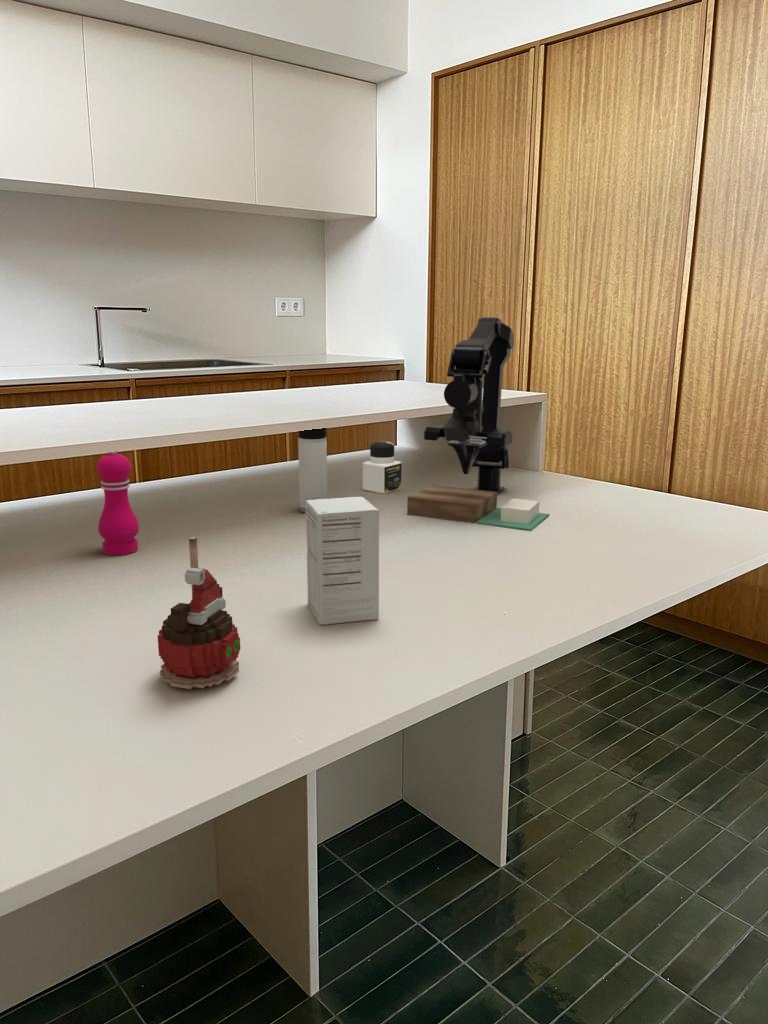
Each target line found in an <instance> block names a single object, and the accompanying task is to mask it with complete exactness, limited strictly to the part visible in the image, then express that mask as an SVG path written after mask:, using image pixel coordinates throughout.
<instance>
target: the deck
mask: <svg viewBox="0 0 768 1024" xmlns="http://www.w3.org/2000/svg"><path fill="white" fill-rule="evenodd" d="M497 503H498V493H497V492H492V491H483V490H474V488H467V487H454V486H448V485H440V484H439V485H437V484H431V485H429V486H427V487H425V488H423V489H421V490H419V491H417V492H414V493H412V494H411V495H408V496H407V505H406V506H407V507H406V510H407V511H406V513H407V515H411V516H417V517H426V518H431V519H432V518H434V519H439V520H446V521H453V520H454V521H455V522H460V521H462V522H461V523H468V522H470V523H471V524H476V522H477V521H478V520H480V519H481V518H483V517H484V516H486V515H487V514H489V513H490V512H492V511H493V510H495V509H496V508H498V507H497Z"/></svg>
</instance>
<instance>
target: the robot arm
mask: <svg viewBox="0 0 768 1024" xmlns="http://www.w3.org/2000/svg"><path fill="white" fill-rule="evenodd" d="M514 336H515V335H514V333H513V330H512V328H511V327H510V326H509V325H506V324H505V323H503V322H502V319H501V318H498V317H495V316H494V317H487V316H486V317H485V316H484V317H483V316H482V317H481V318H478V319H477V324H476V326H475V328H474V330H473V331H472V333H471V334H470V336H469V337H468V339H464V340H460V341H459V342H458V343H456V345H455V346H454V348H452V350H451V353H450V358H449V359H450V360H449V363H448V369H447V372H446V373H447V374H446V377H451V378H453V380H451V381H450V382H448V384H447V385H446V386H445V388H444V391H443V398H444V401H445V402H446V404H447V405H448V406H449V407H451V408H453V410H452V415H451V418H450V419H448V420H447V422H446V423H445V424H432V425H429V426H426V427H425V428H424V431H423V440H425V441H437V440H439V439H440V438H445V441H447V446H449V447H450V446H451V447H452V448H453V449H454V450H455V453H456V454H457V457H458V460H459V463H460V467H461V469H462V473H463V475H469V473H470V472H471V469H472V468H475V467H477V485H476V486H475V487H474V488H473V489H474V490H483V491H492V492H497V494H499V493H500V492H502V491H503V490H505V486H501V474H502V472H501V471H502V470H506V469H509V468H510V455H509V454H510V453H509V450H508V448H507V446H508V445H510V444H512V443H513V434H512V432H511V430H509V429H501V428H500V416H501V406H502V405H501V404H502V400H501V399H502V390H503V389H502V388H503V373H504V366H505V365H506V363H507V362H508V360H509V358H510V357H511V352H512V350H513V348H514V345H515V337H514Z"/></svg>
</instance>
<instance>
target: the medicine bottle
mask: <svg viewBox="0 0 768 1024" xmlns="http://www.w3.org/2000/svg"><path fill="white" fill-rule="evenodd" d="M369 447H370V448H369V452H370V453H369V454H370V455H369V458H370V460H367V461H365V462H363V463H362V490H363V491H367V492H372V493H378V494H384V495H385V494H388V493H393V492H396V491H400V490H402V470H403V469H402V463H403V462H402V461H399V460H395V449H396V448H395V445H394V443H392V442H389V441H374V442H373V443H371V444H370V446H369Z"/></svg>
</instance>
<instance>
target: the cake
mask: <svg viewBox="0 0 768 1024" xmlns="http://www.w3.org/2000/svg"><path fill="white" fill-rule="evenodd" d="M188 546H189V562H190V563H189V564H190V567H189V568H187V569H186V570H185V572H186V573H184V581H185V583H186V584H188V585H191V599H190V602H189V603H186V602H179V603H177V604H175V605H173V606H172V607H171V608H170V614H169V615H167V616H166V617H167V618H165V619H164V620H163V621H162V625H161V629H158V635H157V645H158V647H157V648H158V649H157V650H158V656H159V657H160V659H161V660H162V663H163V664H161V665H160V668H161V669H160V670H159V675H160V677H161V680H163V683H169V685H170V687H174V688H182V689H188V690H191V689H193V688H197V689H198V688H199V689H205V687H210V688H211V687H213V685H216V686H219V685H220V684H222V682H224V681H230V680H231V679H233V677H235V676H236V675H237V674H238V673H239V672H240V668H239V666H240V663H239V661H238V660H237V659H238V658H239V654H240V651H241V637H239V633H238V626H236V624H235V623H233V616H231V614H230V613H228V610H224V609H226V607H227V605H226V604H227V603H226V599H225V598H224V596H223V587H222V586H220V583H218V581H217V579H216V578H215V577H214V576H213V574H212V573H211V572H210V571H209V569H206V568H202V567H201V568H200V567H199V559H198V558H199V556H198V555H199V554H198V553H199V552H198V538H197V537H195V536H191V537H190V538H188Z"/></svg>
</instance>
